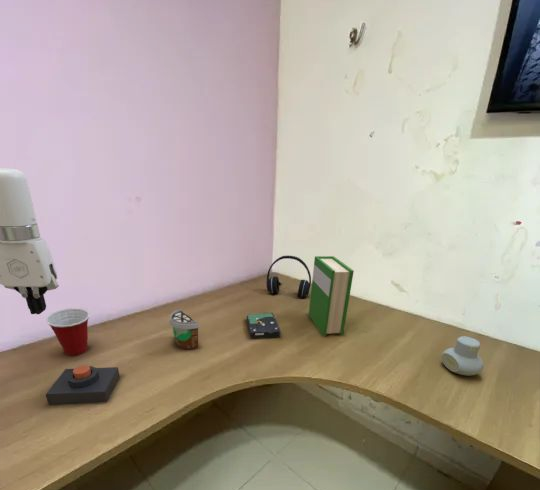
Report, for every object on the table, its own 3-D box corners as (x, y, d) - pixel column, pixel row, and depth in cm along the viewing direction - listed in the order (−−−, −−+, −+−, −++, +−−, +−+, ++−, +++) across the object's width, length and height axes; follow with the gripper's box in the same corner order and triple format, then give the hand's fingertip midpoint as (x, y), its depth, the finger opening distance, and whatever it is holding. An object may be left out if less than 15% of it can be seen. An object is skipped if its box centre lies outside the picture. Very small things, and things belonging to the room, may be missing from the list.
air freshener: (484, 379, 90) (497, 349, 86) (460, 381, 88) (471, 352, 84) (457, 358, 99) (467, 331, 95) (434, 360, 98) (443, 332, 94)
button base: (48, 404, 73) (43, 388, 71) (68, 378, 82) (63, 363, 80) (107, 402, 75) (103, 385, 73) (119, 376, 84) (116, 361, 82)
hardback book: (343, 335, 110) (353, 270, 100) (323, 336, 109) (332, 270, 99) (326, 314, 126) (333, 256, 116) (308, 314, 124) (314, 256, 114)
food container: (165, 339, 102) (162, 312, 98) (182, 334, 106) (180, 307, 102) (182, 356, 94) (179, 327, 90) (200, 349, 98) (198, 321, 93)
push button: (71, 380, 75) (70, 374, 74) (78, 371, 78) (76, 365, 77) (87, 379, 75) (86, 373, 74) (93, 370, 78) (92, 364, 78)
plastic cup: (68, 365, 87) (58, 327, 82) (48, 353, 92) (37, 317, 87) (104, 348, 96) (97, 313, 91) (84, 338, 101) (76, 304, 96)
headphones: (264, 294, 142) (266, 255, 134) (268, 289, 148) (270, 252, 140) (308, 300, 138) (312, 260, 130) (310, 295, 144) (314, 256, 136)
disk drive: (280, 338, 107) (272, 318, 120) (281, 330, 106) (272, 311, 119) (250, 339, 105) (246, 319, 118) (251, 332, 104) (246, 313, 117)
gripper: (-37, 234, 60) (-8, 318, 68) (46, 238, 62) (65, 319, 70) (-10, 227, 67) (14, 304, 75) (64, 231, 69) (79, 305, 77)
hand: (38, 311), depth 72 cm, fingers closed
